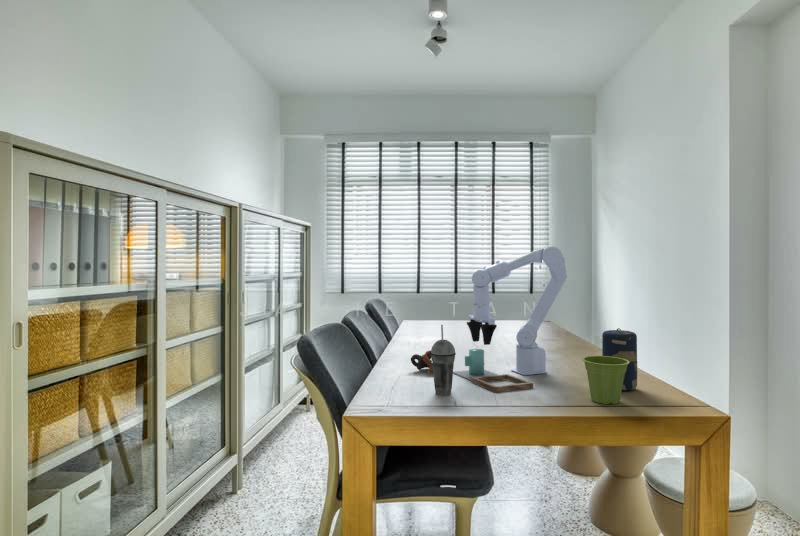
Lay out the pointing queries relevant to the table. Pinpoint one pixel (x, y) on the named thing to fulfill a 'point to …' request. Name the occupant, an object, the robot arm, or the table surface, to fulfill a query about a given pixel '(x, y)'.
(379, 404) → the table surface
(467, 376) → the gray mat
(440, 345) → the beverage cup
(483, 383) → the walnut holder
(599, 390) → the plant pot
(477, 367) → the teal jug
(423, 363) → the brown looped knot
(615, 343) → the canister
